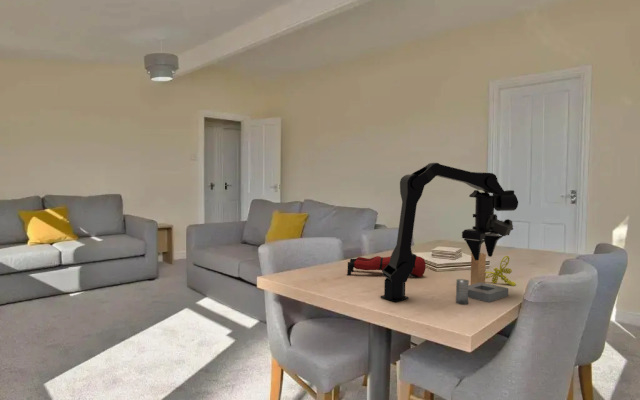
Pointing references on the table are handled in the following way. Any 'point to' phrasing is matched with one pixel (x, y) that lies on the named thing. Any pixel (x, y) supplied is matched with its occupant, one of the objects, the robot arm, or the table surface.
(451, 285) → the table surface
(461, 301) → the round bit
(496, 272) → the decorative insect
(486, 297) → the socket plate
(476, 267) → the square bit
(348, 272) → the toy
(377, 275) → the table surface
